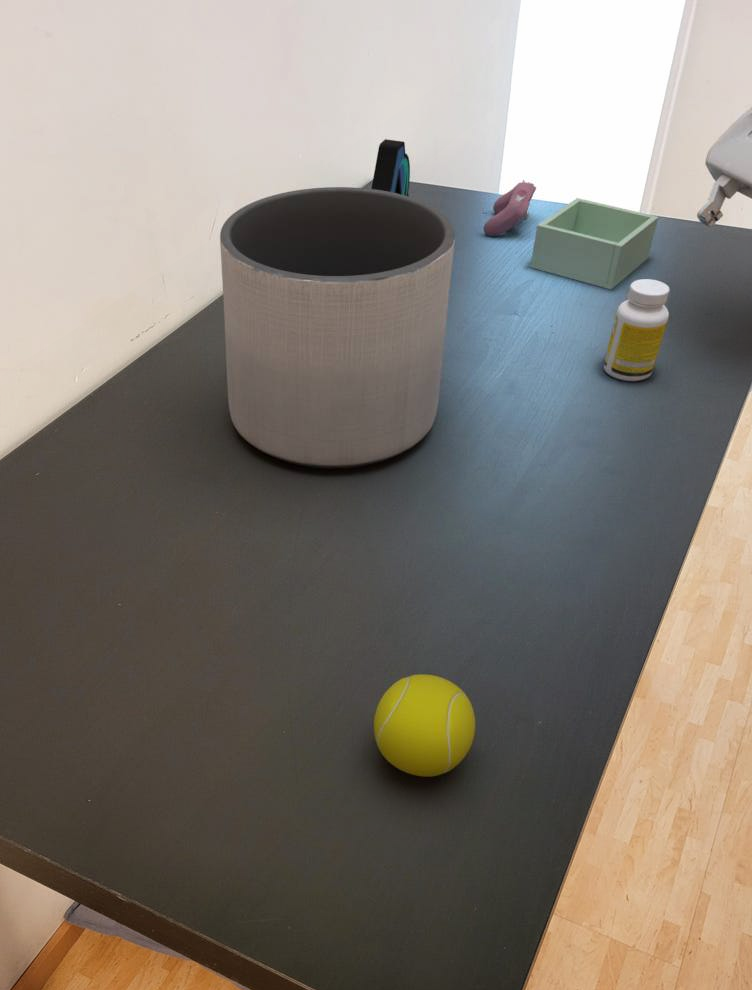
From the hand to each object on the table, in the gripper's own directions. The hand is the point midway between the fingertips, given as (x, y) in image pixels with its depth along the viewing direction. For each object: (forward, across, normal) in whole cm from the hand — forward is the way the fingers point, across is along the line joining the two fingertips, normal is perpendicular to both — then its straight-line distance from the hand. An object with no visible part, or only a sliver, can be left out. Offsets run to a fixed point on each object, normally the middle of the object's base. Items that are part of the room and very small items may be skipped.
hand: (732, 237), depth 99 cm
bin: (+7, +26, -12) cm, 29 cm away
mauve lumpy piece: (+10, +41, -10) cm, 44 cm away
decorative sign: (+25, +38, +5) cm, 46 cm away
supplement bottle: (+16, 0, -3) cm, 17 cm away
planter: (+41, +4, +21) cm, 46 cm away
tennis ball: (+50, -41, +30) cm, 71 cm away
